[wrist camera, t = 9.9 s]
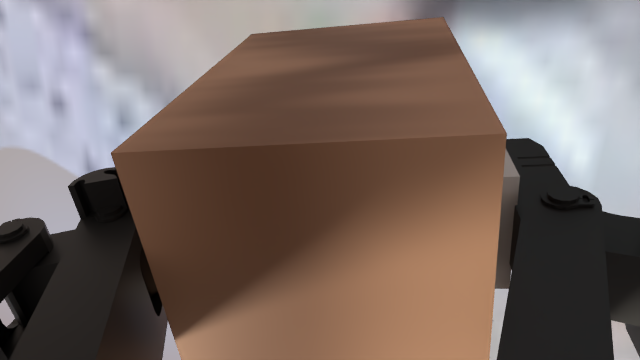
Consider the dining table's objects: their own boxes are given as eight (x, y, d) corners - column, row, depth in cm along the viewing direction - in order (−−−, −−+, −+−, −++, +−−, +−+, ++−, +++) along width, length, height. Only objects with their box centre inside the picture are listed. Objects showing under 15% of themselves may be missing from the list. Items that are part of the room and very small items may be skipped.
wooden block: (443, 17, 15) (506, 133, 7) (441, 190, 17) (484, 416, 9) (251, 34, 15) (110, 152, 8) (279, 195, 18) (196, 403, 10)
